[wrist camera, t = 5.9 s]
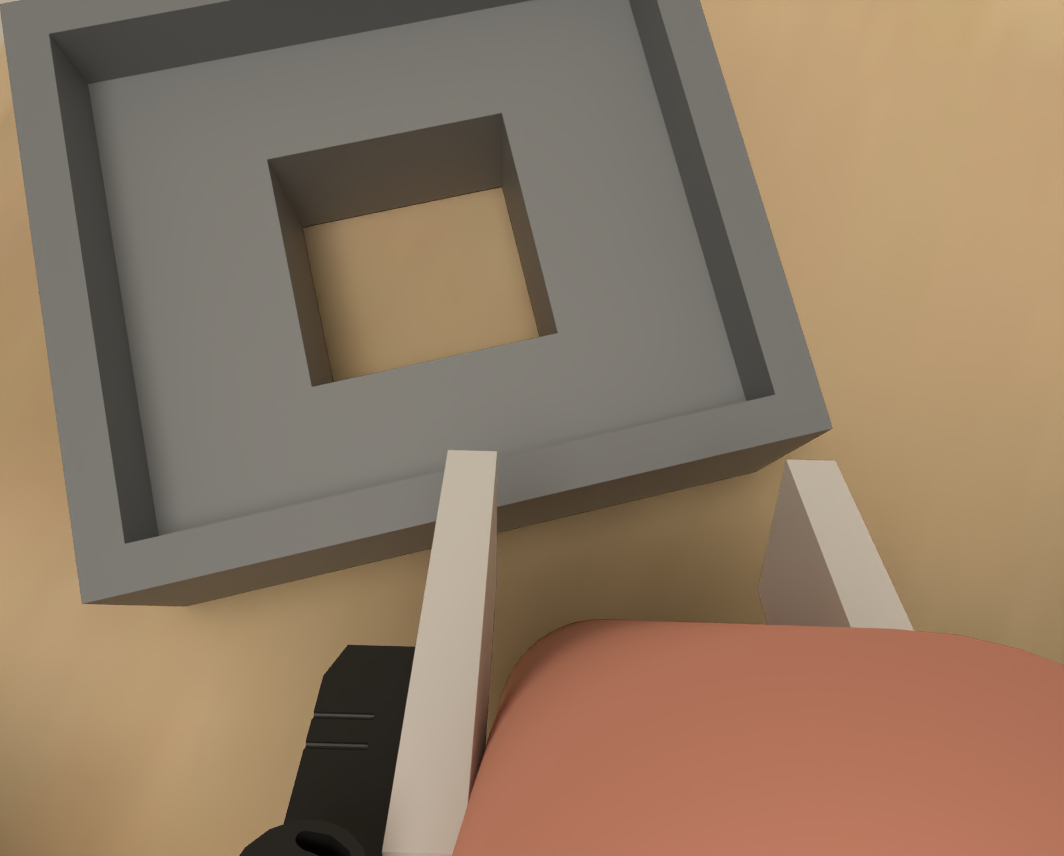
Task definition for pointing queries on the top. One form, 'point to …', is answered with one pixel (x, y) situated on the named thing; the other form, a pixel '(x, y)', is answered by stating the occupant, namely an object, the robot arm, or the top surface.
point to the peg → (770, 745)
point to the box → (362, 188)
